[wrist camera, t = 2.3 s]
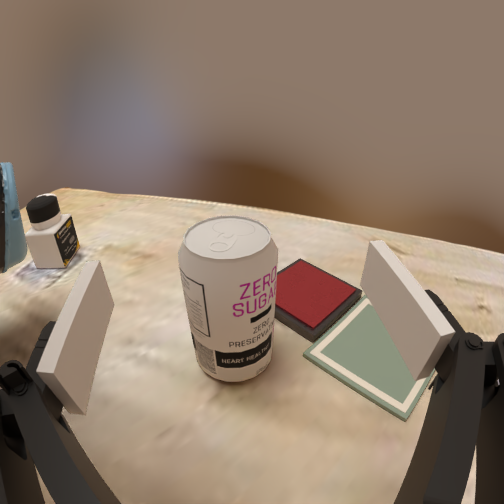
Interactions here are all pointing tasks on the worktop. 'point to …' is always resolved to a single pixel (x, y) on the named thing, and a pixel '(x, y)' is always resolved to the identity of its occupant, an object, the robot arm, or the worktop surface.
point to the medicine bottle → (50, 233)
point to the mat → (368, 360)
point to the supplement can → (230, 294)
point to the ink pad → (311, 299)
